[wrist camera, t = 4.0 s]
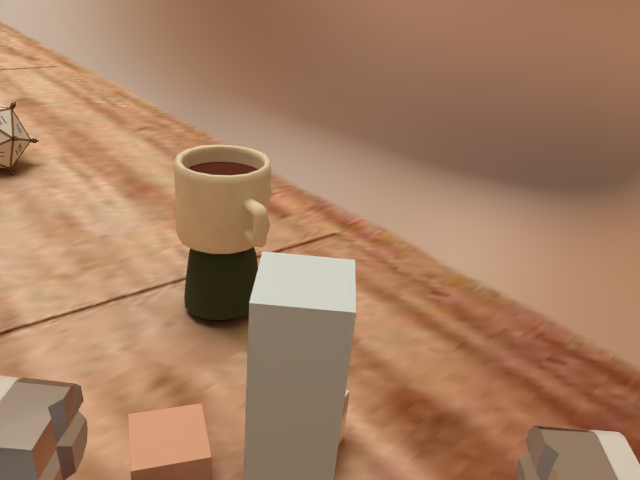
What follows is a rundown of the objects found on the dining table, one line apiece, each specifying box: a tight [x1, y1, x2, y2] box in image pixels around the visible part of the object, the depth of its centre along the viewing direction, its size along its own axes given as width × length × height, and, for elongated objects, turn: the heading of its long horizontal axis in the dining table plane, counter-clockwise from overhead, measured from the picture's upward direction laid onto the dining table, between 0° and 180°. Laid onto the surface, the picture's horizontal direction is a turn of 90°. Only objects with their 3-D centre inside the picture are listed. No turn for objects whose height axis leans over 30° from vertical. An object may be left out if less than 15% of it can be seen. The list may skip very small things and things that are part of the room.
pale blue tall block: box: [244, 252, 356, 480], centre depth 28 cm, size 4×4×16 cm
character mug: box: [174, 145, 271, 320], centre depth 46 cm, size 11×7×13 cm, turn 39°
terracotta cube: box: [128, 404, 211, 480], centre depth 33 cm, size 4×4×4 cm
